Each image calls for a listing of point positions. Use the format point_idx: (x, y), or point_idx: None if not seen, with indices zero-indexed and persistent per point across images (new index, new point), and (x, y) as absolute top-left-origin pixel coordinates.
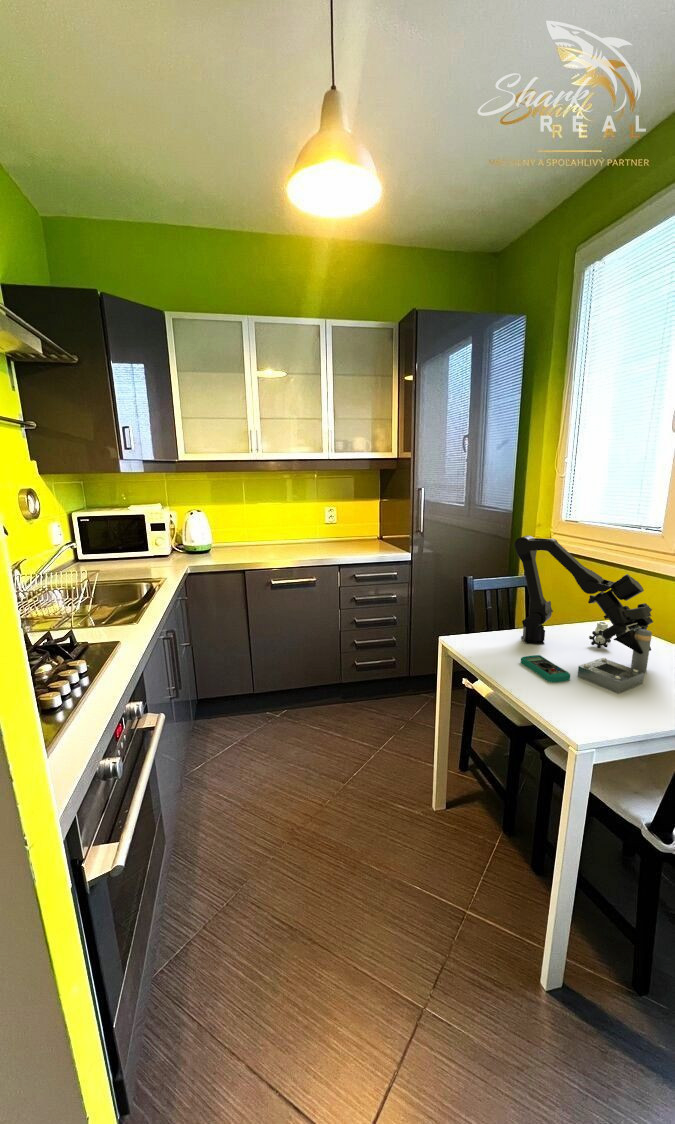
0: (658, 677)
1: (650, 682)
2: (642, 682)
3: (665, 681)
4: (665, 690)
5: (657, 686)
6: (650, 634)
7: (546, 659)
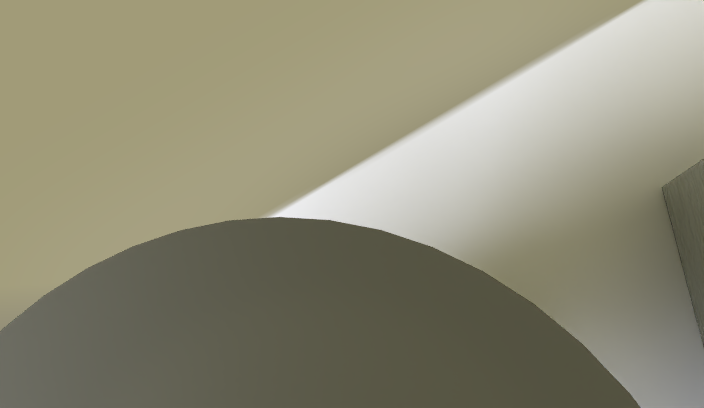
0: (371, 216)
1: (551, 179)
2: (672, 182)
3: (398, 142)
4: (576, 40)
5: (569, 107)
6: (296, 231)
7: None
